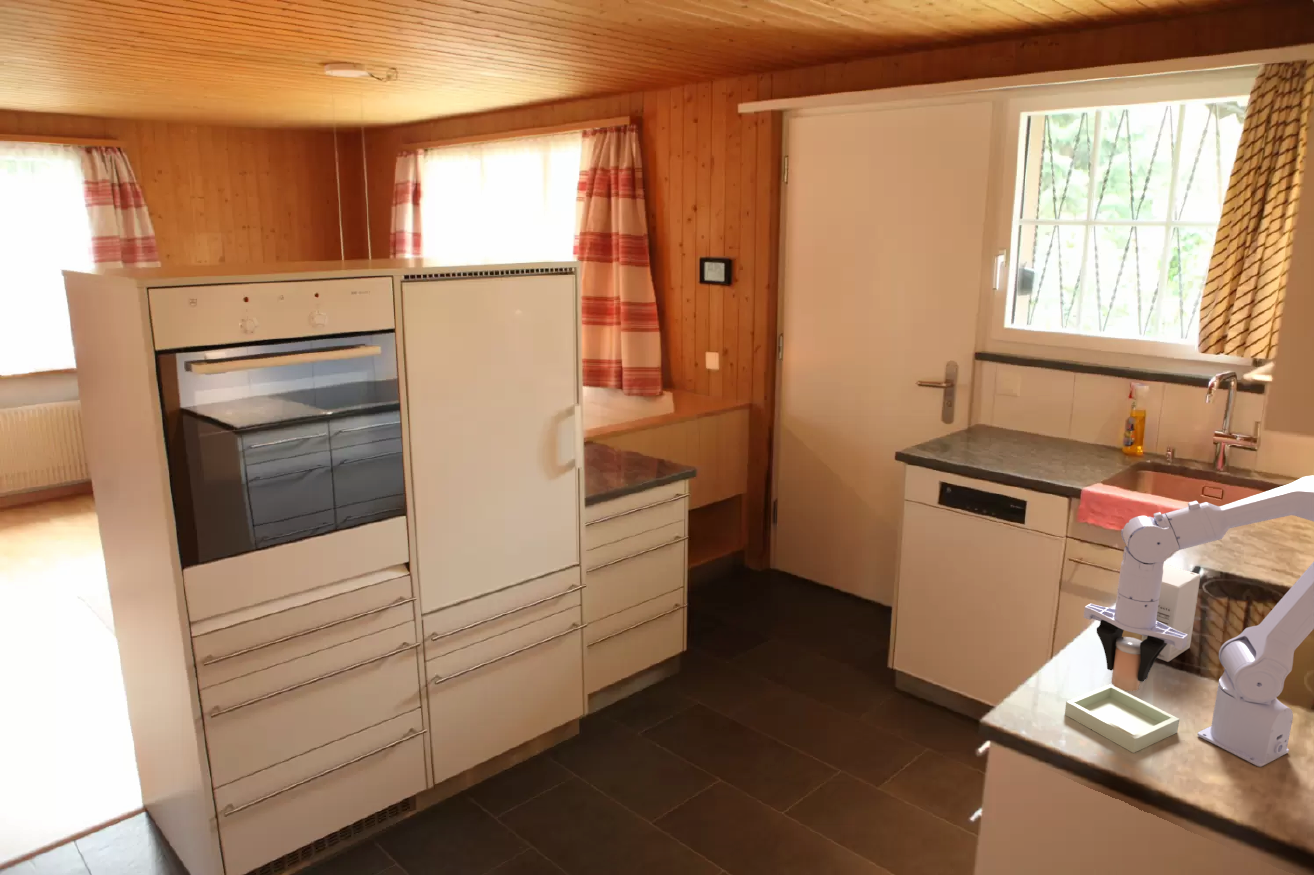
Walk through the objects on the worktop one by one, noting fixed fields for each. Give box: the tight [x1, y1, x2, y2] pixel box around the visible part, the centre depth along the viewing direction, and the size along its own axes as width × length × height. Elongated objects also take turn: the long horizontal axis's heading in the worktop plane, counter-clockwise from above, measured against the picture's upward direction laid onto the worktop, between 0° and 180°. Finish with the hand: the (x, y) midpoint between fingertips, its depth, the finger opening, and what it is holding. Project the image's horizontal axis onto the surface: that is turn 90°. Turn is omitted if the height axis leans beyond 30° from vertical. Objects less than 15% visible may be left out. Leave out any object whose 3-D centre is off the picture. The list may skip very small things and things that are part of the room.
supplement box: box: [1156, 563, 1201, 663], centre depth 165 cm, size 9×9×15 cm
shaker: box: [1110, 637, 1142, 692], centre depth 140 cm, size 4×4×7 cm
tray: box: [1064, 683, 1180, 754], centre depth 142 cm, size 12×11×2 cm
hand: (1127, 673), depth 140 cm, fingers closed on shaker, 4 cm apart
